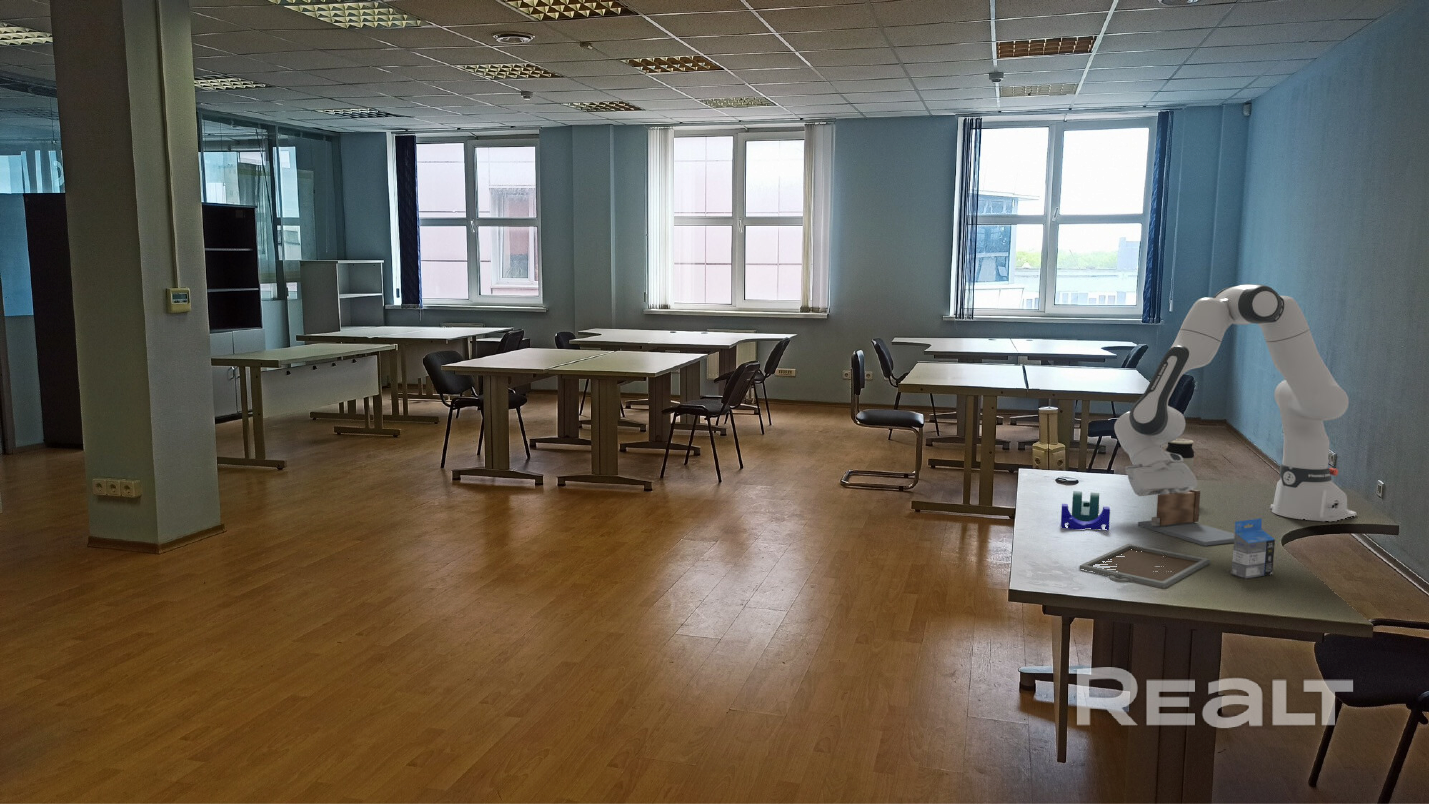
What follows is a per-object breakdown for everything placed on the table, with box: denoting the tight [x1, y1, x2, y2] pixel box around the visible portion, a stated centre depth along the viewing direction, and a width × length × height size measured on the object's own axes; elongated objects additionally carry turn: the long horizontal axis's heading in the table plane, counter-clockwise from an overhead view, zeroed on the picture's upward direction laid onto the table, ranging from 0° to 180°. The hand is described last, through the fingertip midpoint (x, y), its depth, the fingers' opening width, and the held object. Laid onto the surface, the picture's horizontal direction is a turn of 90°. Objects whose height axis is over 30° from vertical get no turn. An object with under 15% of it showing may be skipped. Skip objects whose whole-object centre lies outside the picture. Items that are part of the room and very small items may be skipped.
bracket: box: [1071, 490, 1100, 521], centre depth 276 cm, size 18×7×8 cm, turn 157°
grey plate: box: [1137, 520, 1235, 547], centre depth 257 cm, size 14×22×1 cm, turn 21°
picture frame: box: [1079, 543, 1210, 589], centre depth 226 cm, size 19×2×30 cm
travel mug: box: [1165, 438, 1195, 494], centre depth 297 cm, size 8×8×18 cm
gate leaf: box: [1150, 488, 1201, 526], centre depth 261 cm, size 15×2×8 cm, turn 111°
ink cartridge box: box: [1230, 517, 1276, 580], centre depth 220 cm, size 9×4×12 cm, turn 114°
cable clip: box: [1060, 503, 1111, 531], centre depth 262 cm, size 12×4×6 cm, turn 73°
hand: (1177, 505), depth 266 cm, fingers closed
